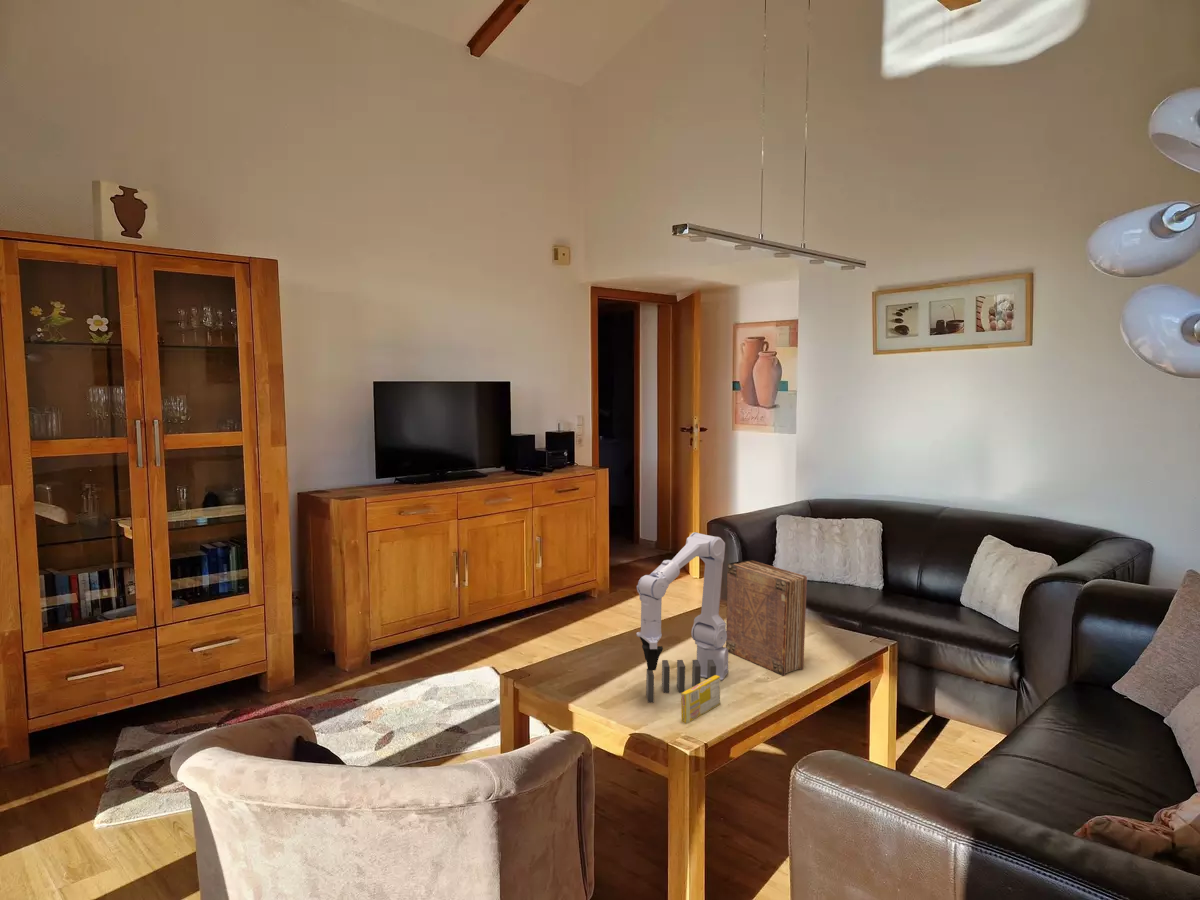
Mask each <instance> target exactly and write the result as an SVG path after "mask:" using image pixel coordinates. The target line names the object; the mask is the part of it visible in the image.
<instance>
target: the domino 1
mask: <svg viewBox="0 0 1200 900" xmlns="http://www.w3.org/2000/svg"><path fill="white" fill-rule="evenodd" d="M645 676H646V677H645V678H646V683H645V684H646V687H645V697H646V700H647V703H648V704H653V703H654V702H655V699H654V698H655V674H654V670H648V668H646V675H645Z"/></svg>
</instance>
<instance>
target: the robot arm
mask: <svg viewBox="0 0 1200 900" xmlns="http://www.w3.org/2000/svg"><path fill="white" fill-rule="evenodd" d="M685 540H686V541H685V545H684V546H682V548H681V549H680V550H679V551H678V553H676V555H675V556H673V558H672V559H664V560H663V561H662V562H661V563H660V565H658V566H657V567H656V568H655V569H654V570H653V571H652V572H651V573H650V574H645V575H643V576H641V577H640V579H639V580H638V582H637V585H636V590H637V593H638V594H639V600H640V631H638V632H636V637H638V638H639V639H640V642H641V644H642V645H641V647H642V651H643V654H644V655H643V656H644V660H645V661H646V667H647V669H648V670H653V671H656V670H657V666H658V662H659V659H660V655H661V653H662V652H663V650H664V648H663V646H662V645H661V646H659V645H658V643H659V641H660V640H661V638H662V635H663V634H662V603H663V601H662V598H663V597H665V594H666V592H667V590H668V588H669V585H670V584H672V582H674V580H676V578H677V579H678V577H679V576H680V573H681V572H680V571H681V569H682V568H683V567H684V566H686V565H687V564H688V563H690V562H691V561H692V560H693V559H694V558H696V557H699V559H701V560H702V561H703V563H704V573H703V586H702V598H701V601H702V602H701V613H700V614H698V615H697V616H695V617H694V620H693V625H692V627H691V631H690V632H691V638H692V640H694V644H695V645H696V660H698V661H699V664H700V666H701V676H700V678H706V679H707V663H708V660H713V661H714V663H715V665H716V675H717V676H720V681H724V678H726V675H727V674H728V673H729V652H728V648H726V646H725V647H724V645H726V639H727V632H726V623H727V622H725V620H724V619H723V618H722V617H721V616H720V604H721V593H722V592H721V591H722V579H723V578H722V577H723V569H724V567H723V564H724V562H725V551H726V542H725V541H724V540H723V539H722V538H721V537H720V536H713V535H708V534H704V533H699V532H692V533H691V534H690V535H689V536H688V537H686V539H685Z"/></svg>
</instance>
